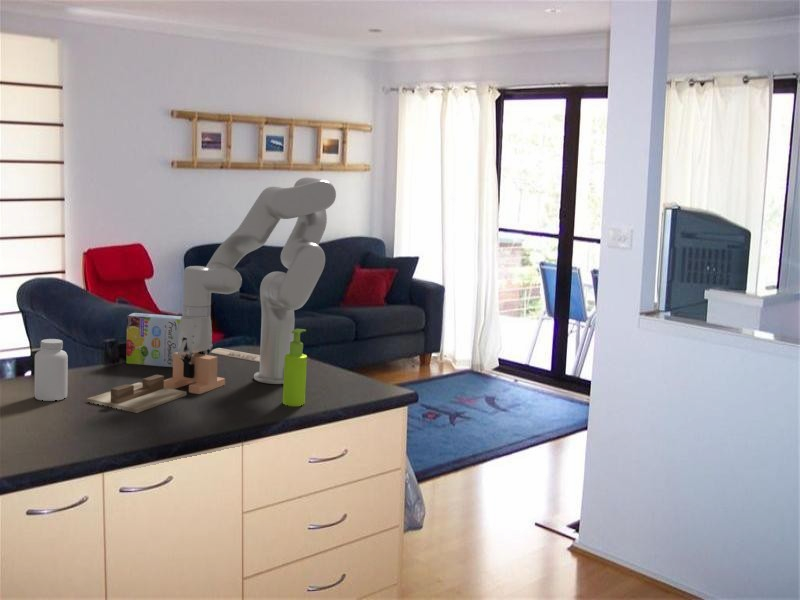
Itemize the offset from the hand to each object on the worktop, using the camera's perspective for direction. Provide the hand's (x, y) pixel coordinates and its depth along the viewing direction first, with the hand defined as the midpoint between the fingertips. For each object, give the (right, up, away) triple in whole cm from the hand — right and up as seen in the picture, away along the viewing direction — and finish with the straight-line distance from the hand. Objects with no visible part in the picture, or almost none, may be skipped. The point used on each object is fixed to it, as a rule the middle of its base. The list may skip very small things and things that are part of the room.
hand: (194, 374), depth 256 cm
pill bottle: (-33, -5, -19) cm, 38 cm away
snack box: (-15, +1, +22) cm, 26 cm away
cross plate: (0, -3, +1) cm, 3 cm away
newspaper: (+8, +2, +38) cm, 39 cm away
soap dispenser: (+29, -7, -10) cm, 31 cm away
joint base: (-12, -5, -15) cm, 20 cm away
